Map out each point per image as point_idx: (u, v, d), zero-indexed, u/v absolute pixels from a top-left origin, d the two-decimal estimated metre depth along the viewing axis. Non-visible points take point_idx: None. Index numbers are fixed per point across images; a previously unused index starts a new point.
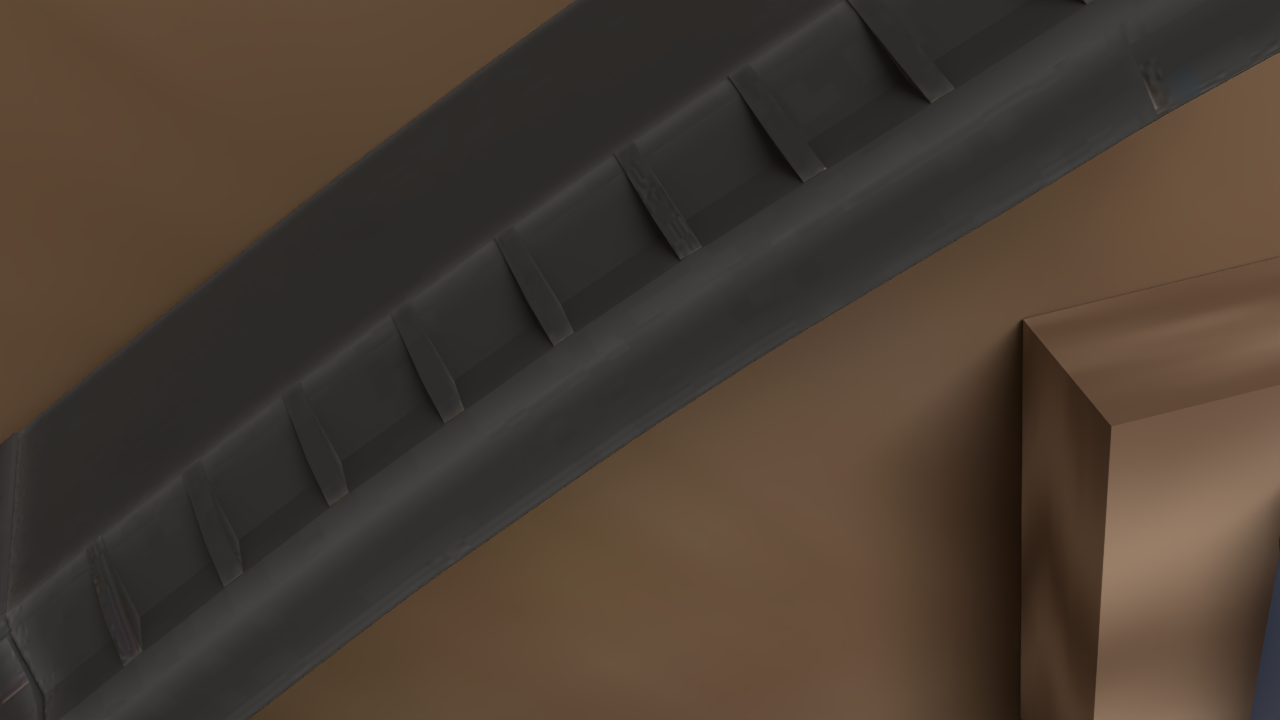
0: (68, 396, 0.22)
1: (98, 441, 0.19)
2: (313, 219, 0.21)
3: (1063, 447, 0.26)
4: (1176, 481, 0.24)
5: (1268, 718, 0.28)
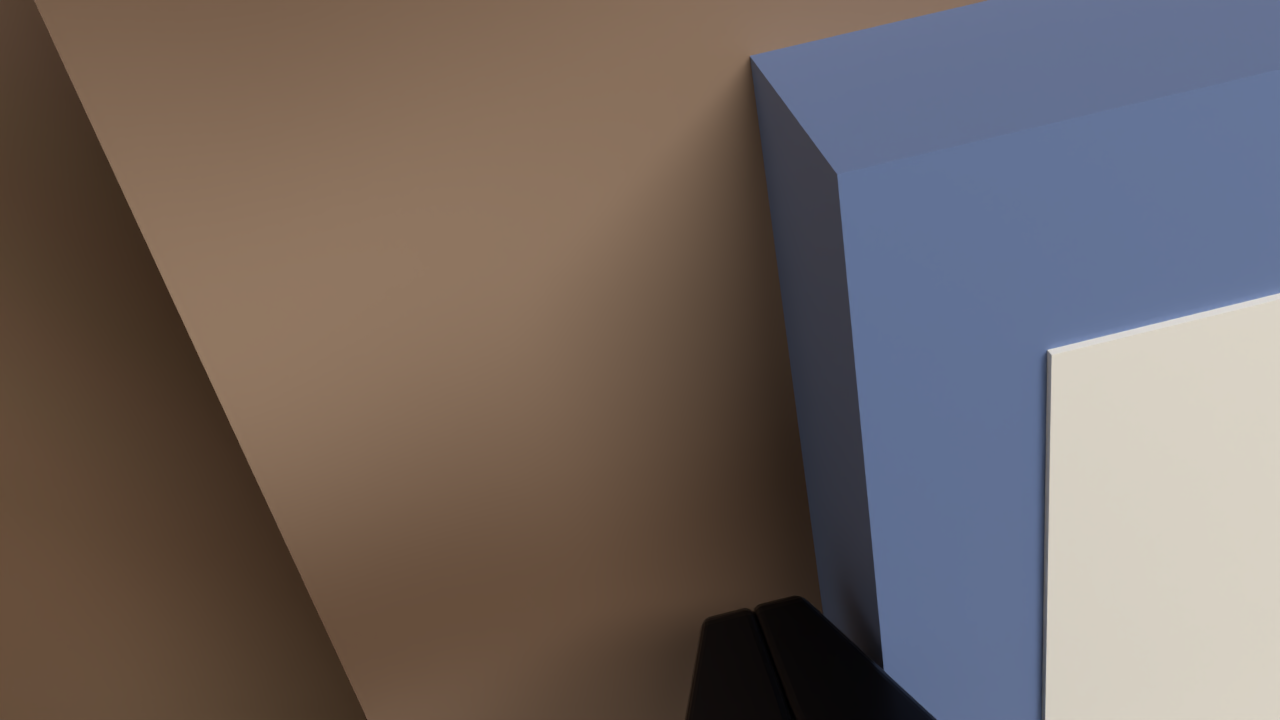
0: None
1: None
2: None
3: None
4: (308, 54, 0.08)
5: None
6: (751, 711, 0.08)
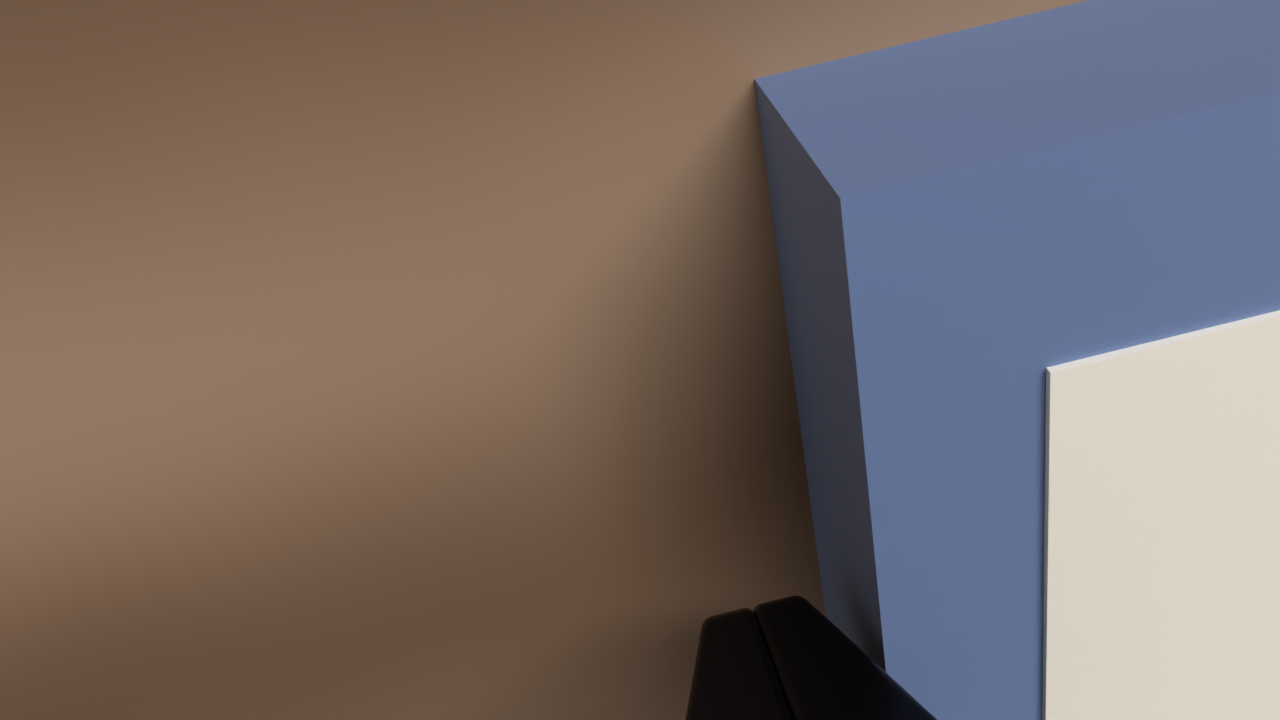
0: None
1: None
2: None
3: None
4: None
5: None
6: (751, 711, 0.08)
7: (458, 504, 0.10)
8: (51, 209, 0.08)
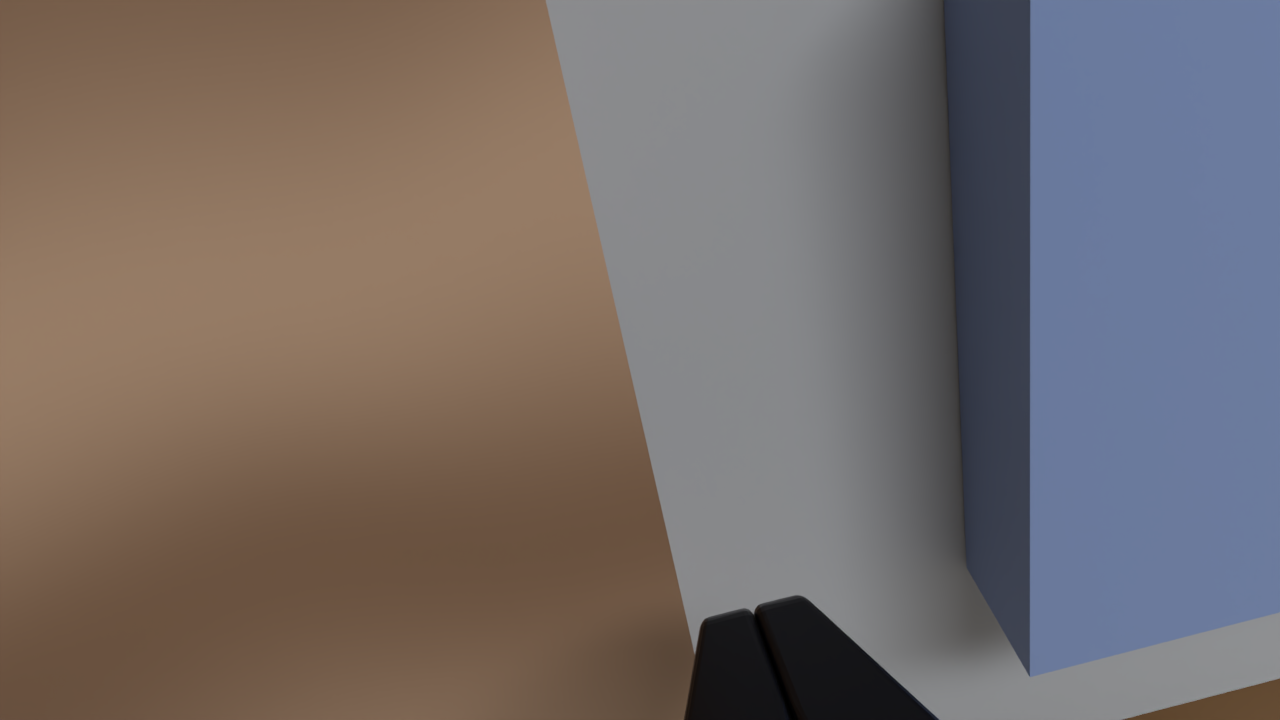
0: None
1: None
2: None
3: None
4: None
5: None
6: (750, 711, 0.08)
7: None
8: None
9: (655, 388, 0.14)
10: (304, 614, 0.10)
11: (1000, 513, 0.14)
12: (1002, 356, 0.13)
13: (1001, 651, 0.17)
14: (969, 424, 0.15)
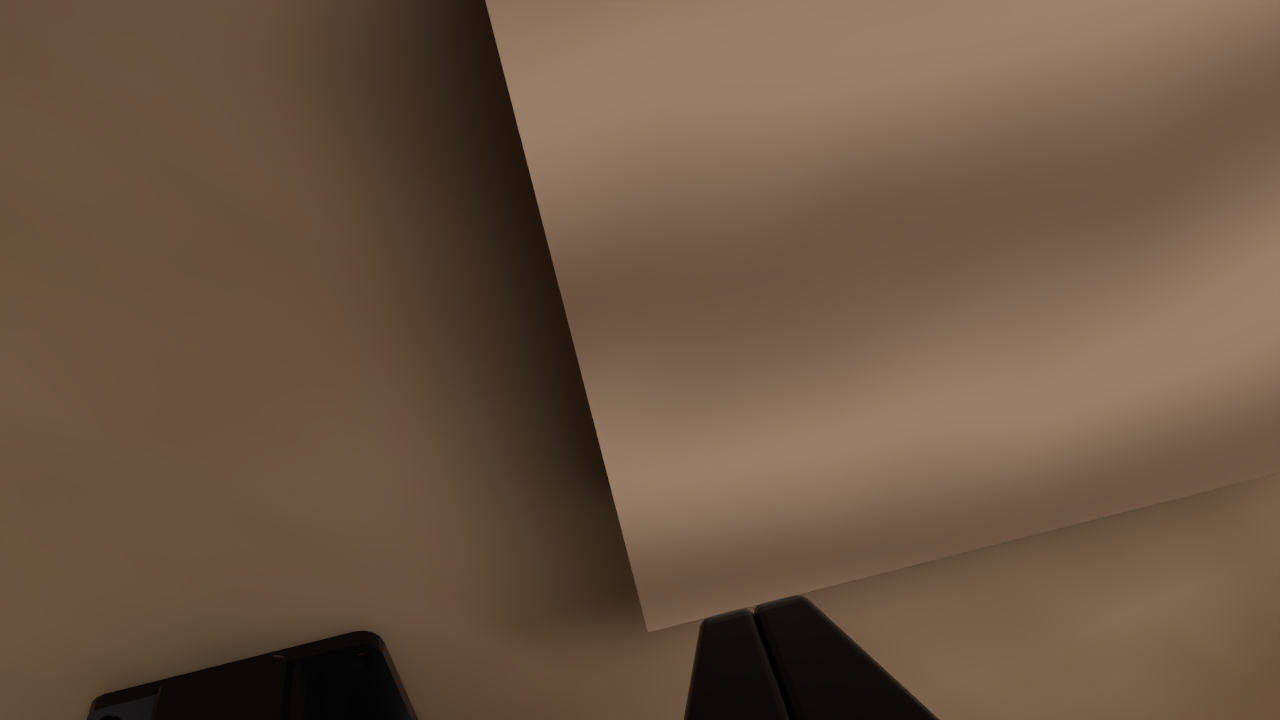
0: None
1: None
2: None
3: None
4: None
5: None
6: (750, 711, 0.08)
7: (1061, 120, 0.18)
8: None
9: None
10: None
11: None
12: None
13: None
14: None
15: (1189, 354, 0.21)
